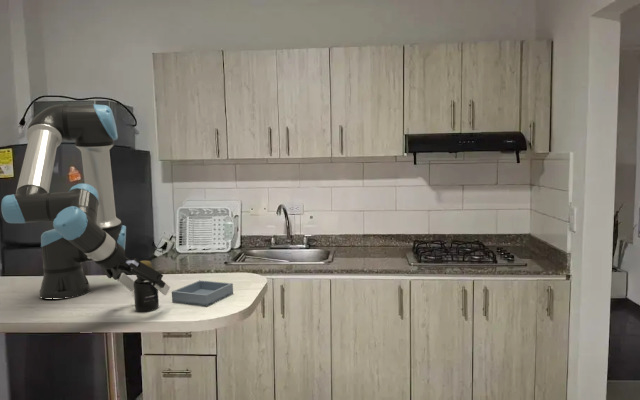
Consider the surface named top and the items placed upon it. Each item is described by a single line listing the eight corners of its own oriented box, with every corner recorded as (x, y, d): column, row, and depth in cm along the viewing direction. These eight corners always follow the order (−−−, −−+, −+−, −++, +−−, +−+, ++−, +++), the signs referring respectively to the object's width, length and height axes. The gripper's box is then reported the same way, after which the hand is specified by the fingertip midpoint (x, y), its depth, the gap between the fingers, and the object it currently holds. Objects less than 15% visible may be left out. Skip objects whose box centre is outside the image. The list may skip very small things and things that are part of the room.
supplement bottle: (151, 312, 133) (148, 273, 132) (130, 312, 134) (127, 272, 133) (163, 305, 139) (160, 267, 138) (143, 304, 141) (141, 267, 140)
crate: (172, 302, 142) (171, 291, 142) (200, 290, 154) (199, 280, 154) (206, 306, 136) (206, 295, 136) (233, 293, 149) (232, 283, 148)
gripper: (65, 259, 126) (114, 296, 140) (131, 265, 115) (176, 304, 130) (81, 237, 130) (126, 275, 145) (145, 241, 119) (187, 281, 134)
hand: (150, 289), depth 137 cm, fingers open, 13 cm apart
